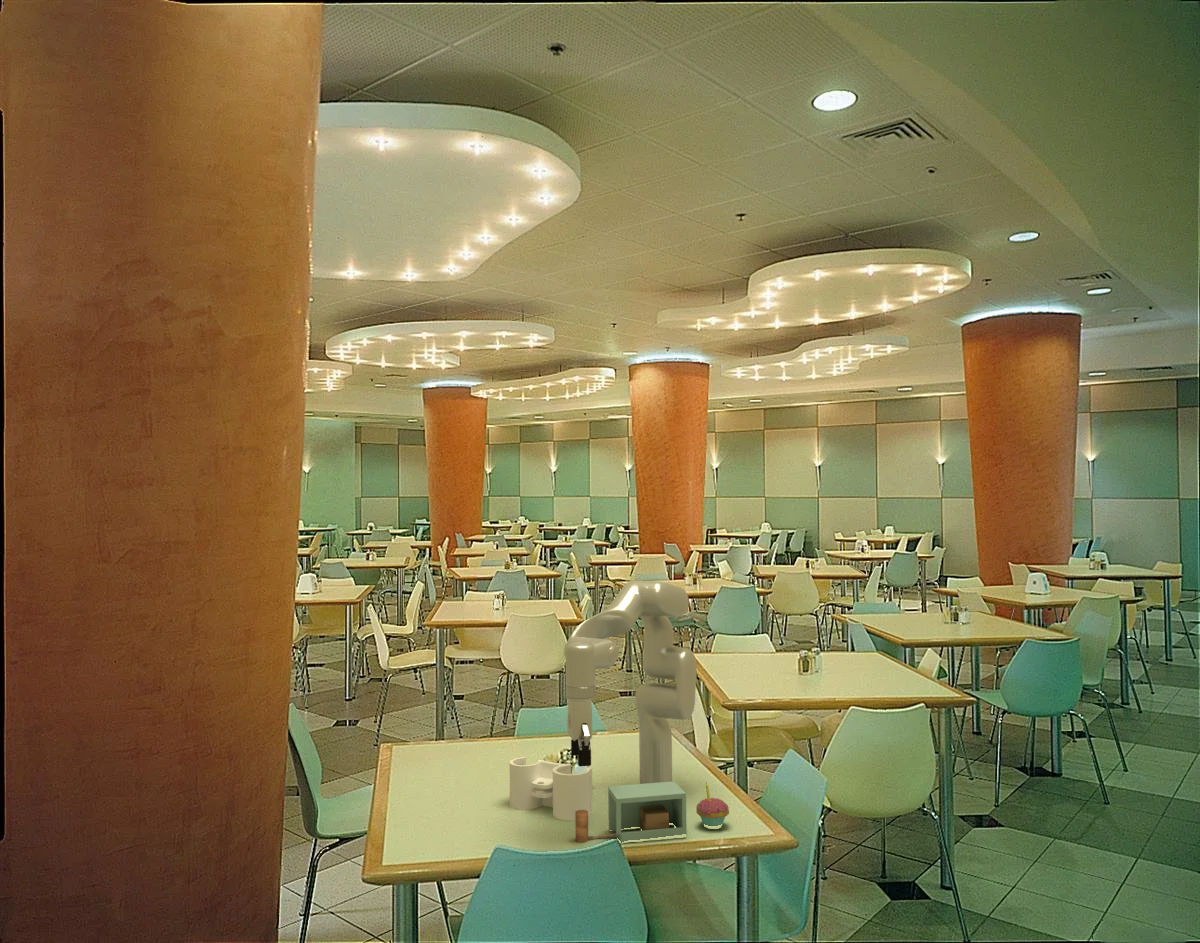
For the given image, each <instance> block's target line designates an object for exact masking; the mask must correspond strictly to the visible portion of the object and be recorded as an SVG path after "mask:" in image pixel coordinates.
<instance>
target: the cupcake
mask: <svg viewBox="0 0 1200 943" xmlns="http://www.w3.org/2000/svg"><path fill="white" fill-rule="evenodd" d="M705 790H706V798H705V799H702V800H700V801H699V802H698V803H697V805H696V809H695V811H696V814H697V815H698V816H699V817H700V819H701V822H702V825H703V824H705V825H708V826H718V825H721V824H724V822H725V819H726V817H727V816H728V815H730V810H729V808H730V807H729V805H728V804H727V803H726V802H725V801H724V800H722V799H720V798H718V797H717V798H715V797H711V796H710V788H709V784H708V783H707V782H706V781H705Z"/></svg>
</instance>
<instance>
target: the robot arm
mask: <svg viewBox="0 0 1200 943" xmlns="http://www.w3.org/2000/svg"><path fill="white" fill-rule="evenodd" d="M689 602H690V601H689V595H688V593H687V592H686V590H685V589H684V588H682V587H680V586H677V585H674V584H671V583H667V582H664V581H659V580H658V581H657V580H638V579H637V580H631V581H629V582H626V583H625V584H624V585H623V587H622V588H621V589H620V590H619V592H618V593H617V595H616V596H615V598H614V599H613V600H612V602H610V604H609V605H608V607H607V609H605V610H603V611H601V612H598V613H597V614H595V615H593V616H591V617H589V618H588V619H586V620H583V622H581V623H579V625H578V626H577V627H576V628H575V629H574V630H573V632H572V633H571V634H570V636H569V638H568V639H567V641H566V643H565V646H564V653H563V654H564V658H565V699H566V700H567V701H568V702H567V724H566V725H567V726H566V729H567V730H566V732H567V734H568V736H569V737H570V755H571V756H573V757H574V756H575V757H576V756H577V765H578V766H579V767H590V766H591V765H592V747H591V746H592V745H591V739H593V706H592V703H593V702H592V700H595V699H596V670H598V669H599V670H600V669H602V670H603V669H609V668H612V666H614V665H615V664H616V663H617V661H618V658H619V648H618V645H617V644H616V643H615V642H614V641H613V640H610V639H607V638H612V637H617V636H619V635H622V634H625V633H628V632H629V631H631V629H633V627H634V625H635V624H636V622H637V620H638V619H639V618H640V619H641V622H642V624H643V628H644V639H643V640H644V641H643V642H644V643H643V655H642V656H643V657H642V658H643V659H642V668H643V672H644V675H646V676H647V677H649V678H654V679H661V680H671V681H675V684H668V683H659V682H647V683H646V682H645V683H643V684H641V685H640V686H638V688H637V690H636V691H635V701H634V702H635V707H636V712H637V718H638V731H639V732H638V734H639V736H638V737H639V738H638V739H639V741H638V742H639V746H638V747H639V753H638V754H639V784H646V783H659V782H672V781H673V744H672V743H673V737H672V735H673V734H672V728H671V726H670V724H669V721H668V719H672V720H678V721H679V720H680V721H683V720H685V721H686V720H687V719H690V718H692V717H691V716H693V714H694V709H695V703H696V690H697V689H696V688H697V687H696V686H697V671H698V670H697V667H698V666H697V664H698V663H697V658H696V655H695V653H694V652H693V651H692V650H691V649H689V648H687V647H681V646H680V647H679V646H674V628H673V625H672V622H671V621H670V619H669V618H668V617H673V618H676V617H677V618H680V617H682V616H684V615H685V614H686V612H687V611H688V609H689V606H690V603H689Z"/></svg>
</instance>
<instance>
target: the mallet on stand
mask: <svg viewBox="0 0 1200 943" xmlns="http://www.w3.org/2000/svg"><path fill="white" fill-rule="evenodd" d="M574 821H575V842H577V843H586V842H588V841H589V840H597V839H606V838H608V837H610V838H616V837H615V836H616V833H607V834H599V835H598V834H597V835H596V834H595V835H594V834H593V835H589V816H588V811H587V810H577V811H576V812H575V820H574ZM640 828H641V829H642V830H653V829H665V828H670V826H669V812H668V811H667V810H666V809H665V807H664V806H663V805H656V806H644V807H640Z"/></svg>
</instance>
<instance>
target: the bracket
mask: <svg viewBox="0 0 1200 943" xmlns="http://www.w3.org/2000/svg"><path fill="white" fill-rule="evenodd" d="M526 760H527V757H526V756H521V757H516V758H513V759H510V761H509V807H510V808H512V809H514V810H519V811H524V810H525V811H527V810H535V809H537V808H540V807H541V806H543V807H549V808H552V816H553V817H554V818H555V819H558V820H561V821H575V812H576V811H577V810H587V811H588V817H590V815H591V813H590V812H592V811H593V808H594V807H593V806H594V805H593V800H594V799H593V767H590V766H587V767H586V768H585V771H582V772H579V773H572V764H571V763H558V762H553V761H549V760H547V761H546V760H544V759H539V760H537V761H536V763H533V764H527V761H526ZM592 813H593V812H592Z"/></svg>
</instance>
